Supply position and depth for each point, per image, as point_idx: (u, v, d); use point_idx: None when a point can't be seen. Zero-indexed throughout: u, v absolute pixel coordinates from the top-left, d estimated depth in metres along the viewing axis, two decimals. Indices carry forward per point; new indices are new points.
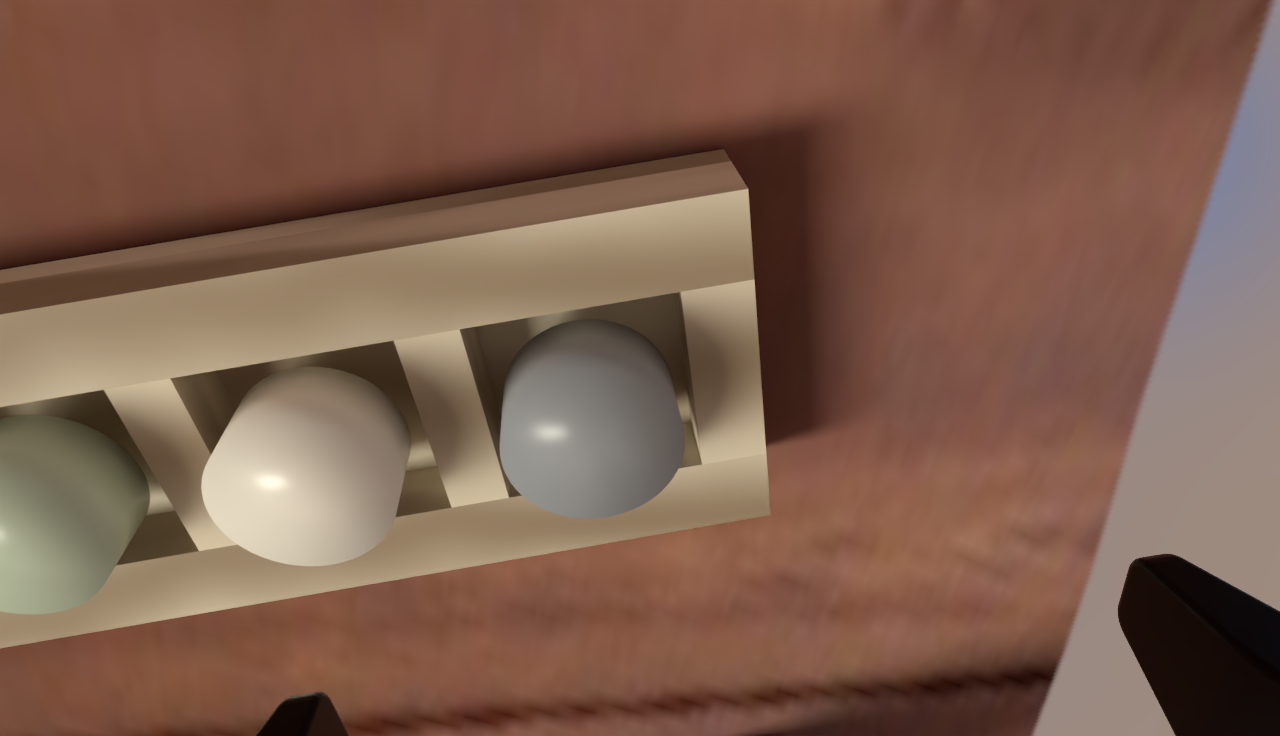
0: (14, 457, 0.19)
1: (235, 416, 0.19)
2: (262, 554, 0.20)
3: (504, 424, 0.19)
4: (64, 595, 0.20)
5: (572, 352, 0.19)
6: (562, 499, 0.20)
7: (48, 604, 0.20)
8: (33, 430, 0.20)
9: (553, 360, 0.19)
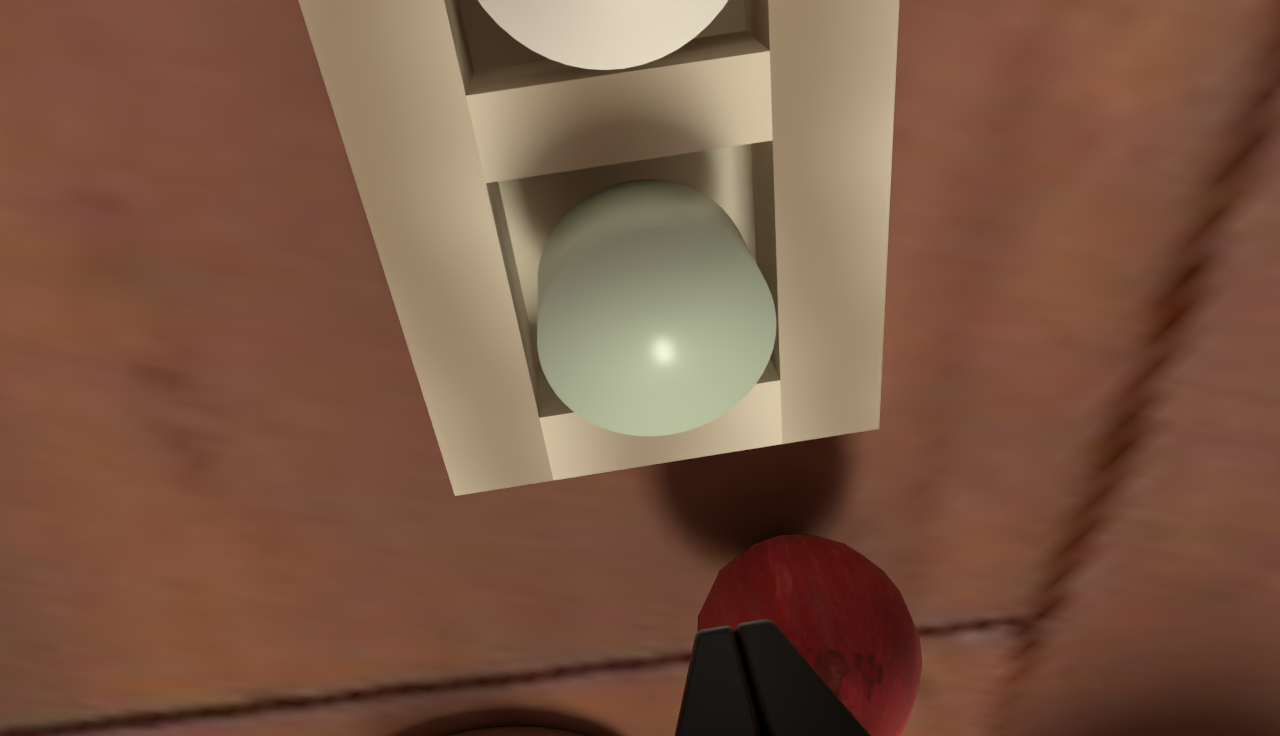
0: (540, 295, 0.15)
1: None
2: (717, 4, 0.12)
3: None
4: (748, 301, 0.15)
5: None
6: None
7: (760, 324, 0.15)
8: (539, 275, 0.16)
9: None
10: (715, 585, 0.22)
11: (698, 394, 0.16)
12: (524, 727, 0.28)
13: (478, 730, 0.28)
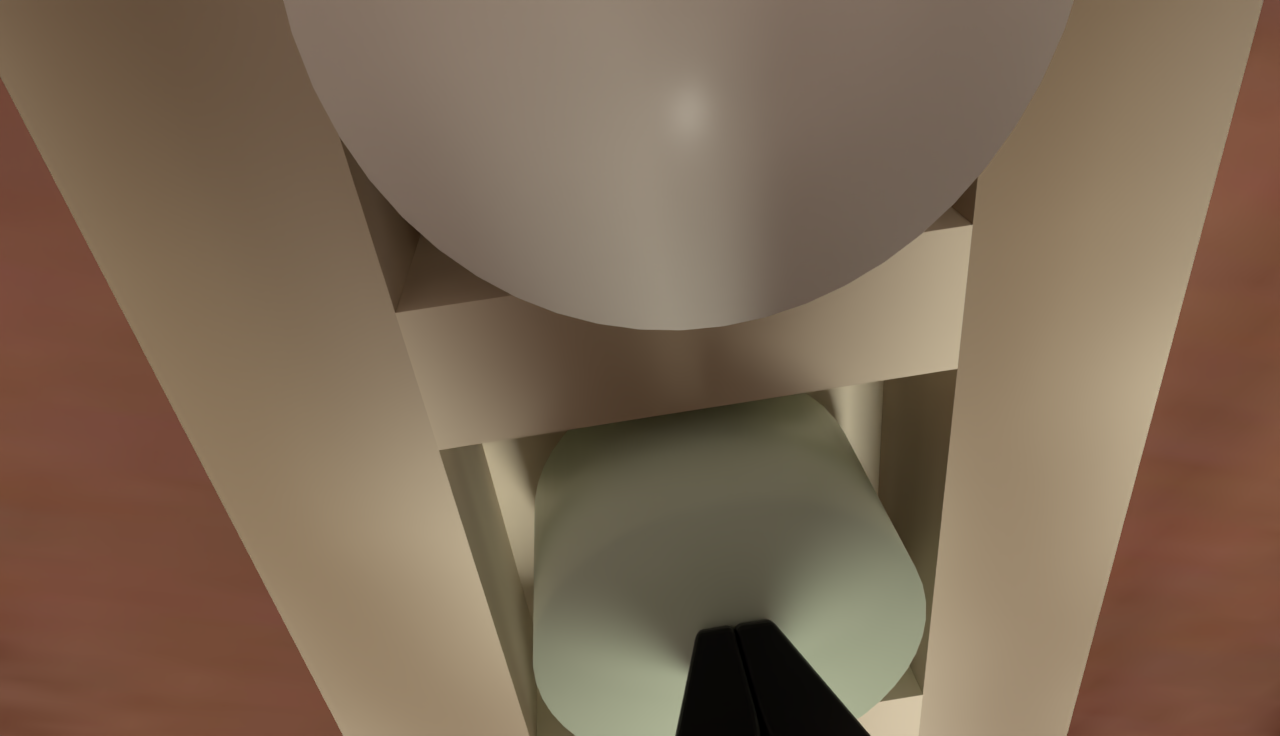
0: (538, 574, 0.09)
1: None
2: (943, 196, 0.05)
3: None
4: (885, 596, 0.09)
5: None
6: None
7: (899, 624, 0.09)
8: (537, 518, 0.10)
9: None
10: None
11: None
12: None
13: None
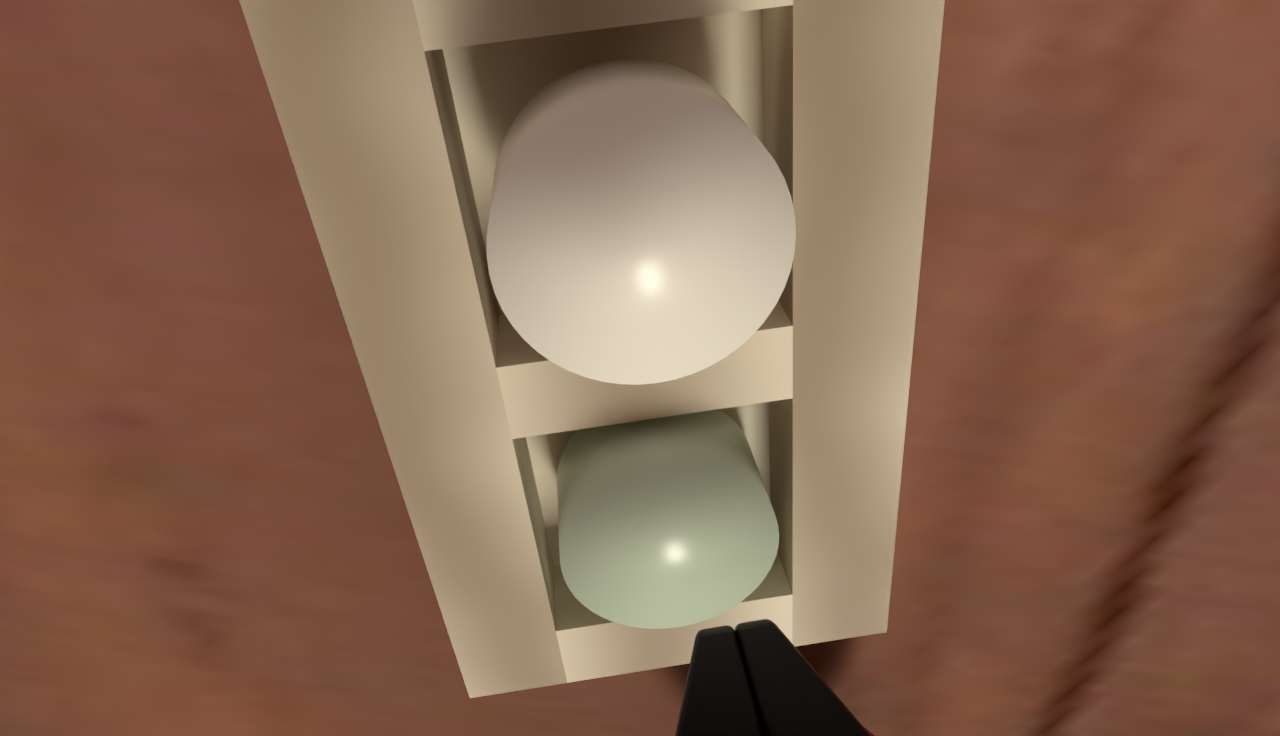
0: (562, 509, 0.16)
1: None
2: (749, 330, 0.12)
3: None
4: (754, 521, 0.16)
5: None
6: None
7: (764, 538, 0.16)
8: (560, 480, 0.17)
9: None
10: None
11: (706, 594, 0.17)
12: None
13: None
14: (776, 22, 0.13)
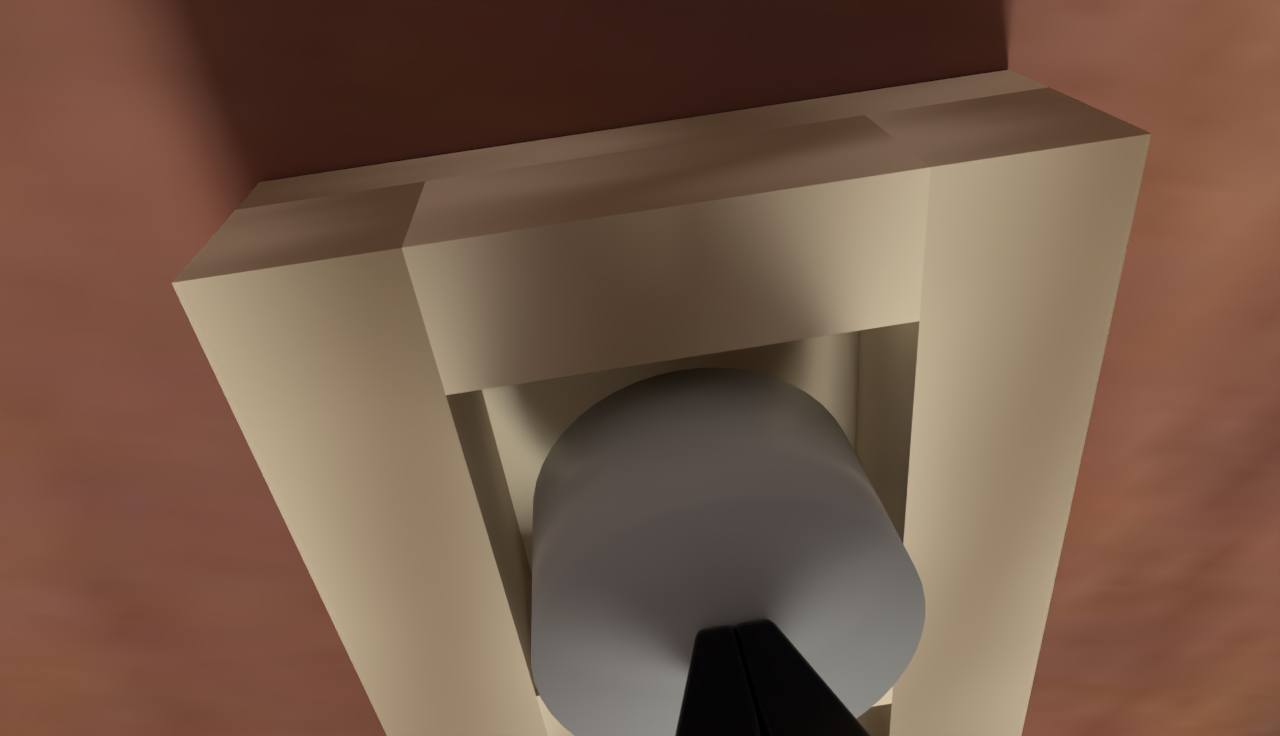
0: None
1: None
2: None
3: None
4: None
5: None
6: (850, 687, 0.10)
7: None
8: None
9: None
10: None
11: None
12: None
13: None
14: None
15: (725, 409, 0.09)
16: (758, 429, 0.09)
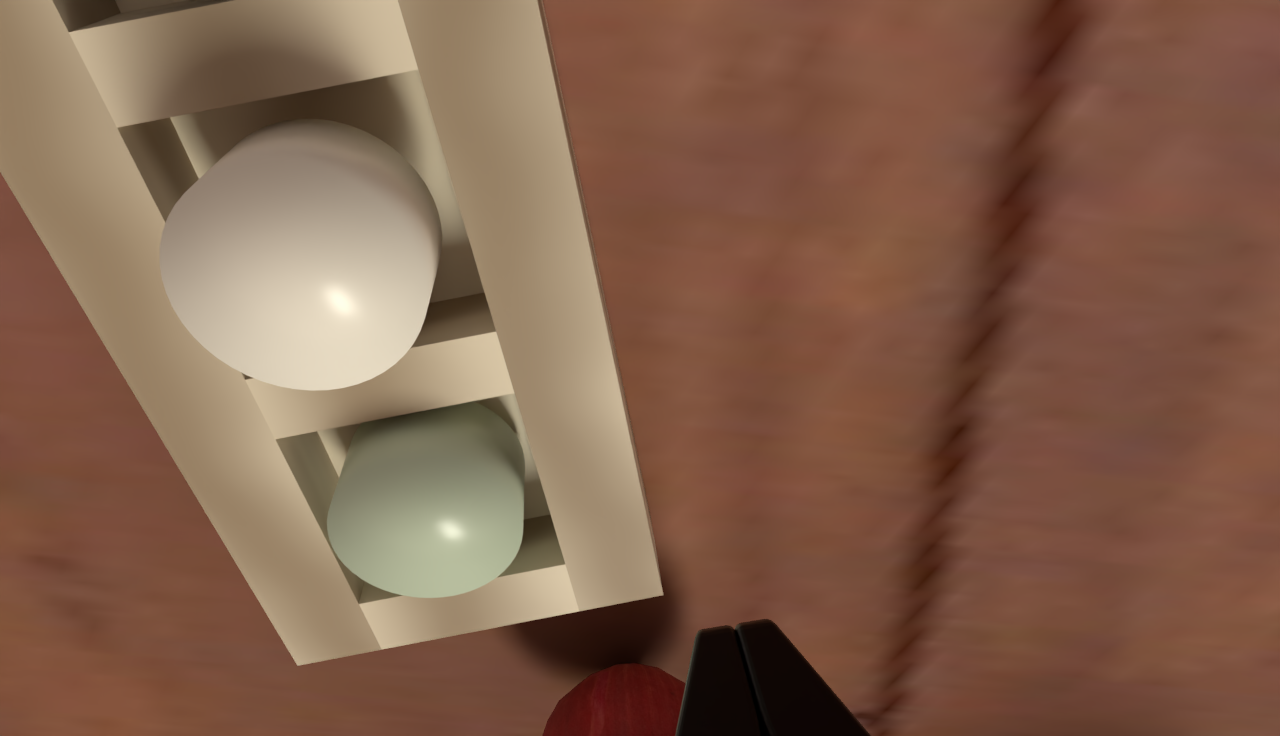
0: None
1: None
2: (409, 341, 0.15)
3: None
4: (494, 500, 0.19)
5: None
6: None
7: (507, 515, 0.19)
8: None
9: None
10: (549, 718, 0.25)
11: (470, 566, 0.20)
12: None
13: None
14: None
15: None
16: None
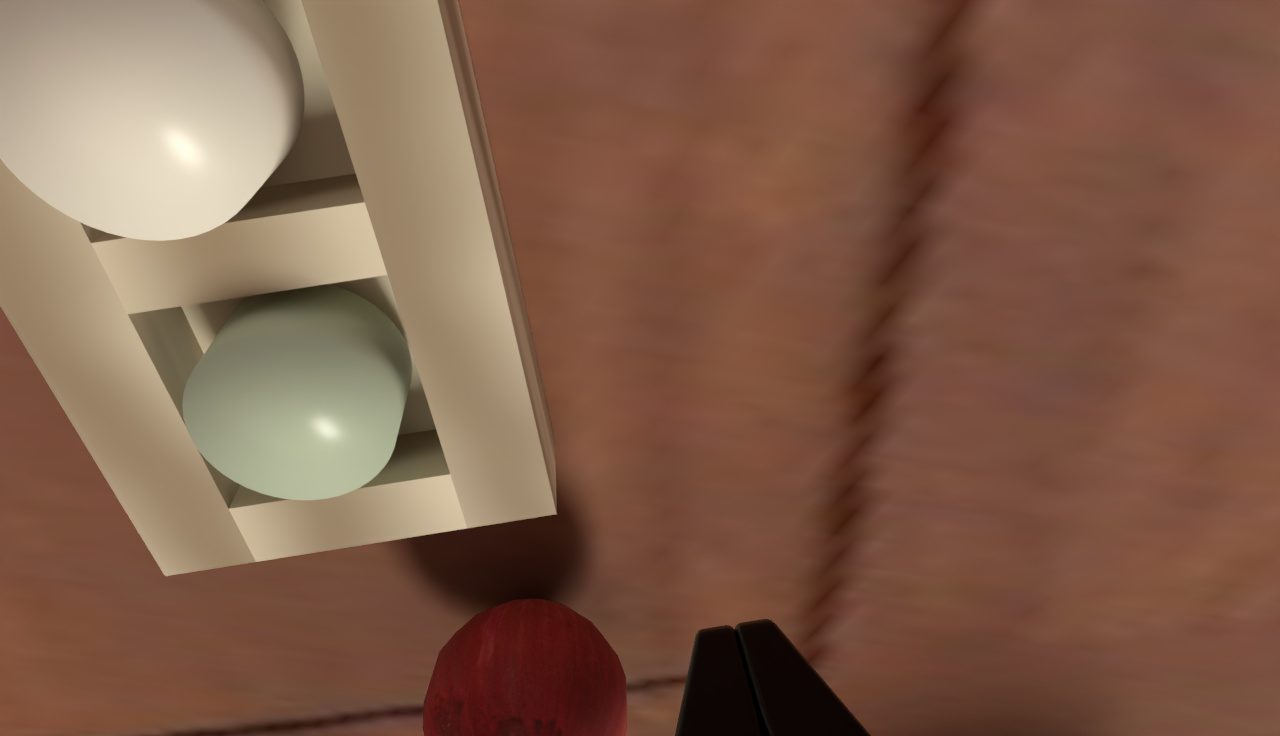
0: None
1: None
2: (250, 187, 0.14)
3: None
4: (364, 391, 0.18)
5: None
6: None
7: (379, 409, 0.18)
8: None
9: None
10: (442, 649, 0.24)
11: (342, 465, 0.18)
12: None
13: None
14: None
15: None
16: None
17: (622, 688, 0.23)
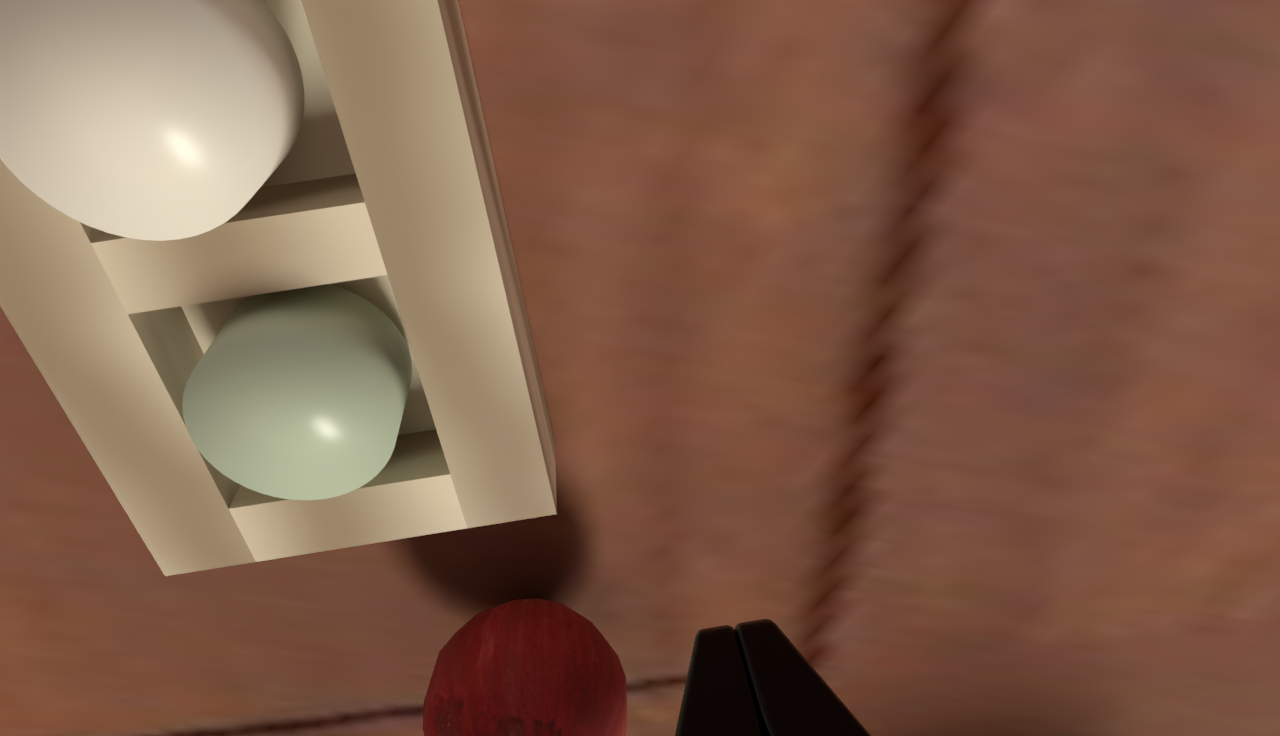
0: None
1: None
2: (250, 187, 0.14)
3: None
4: (364, 391, 0.18)
5: None
6: None
7: (379, 409, 0.18)
8: None
9: None
10: (442, 649, 0.24)
11: (342, 465, 0.18)
12: None
13: None
14: None
15: None
16: None
17: (622, 688, 0.23)
